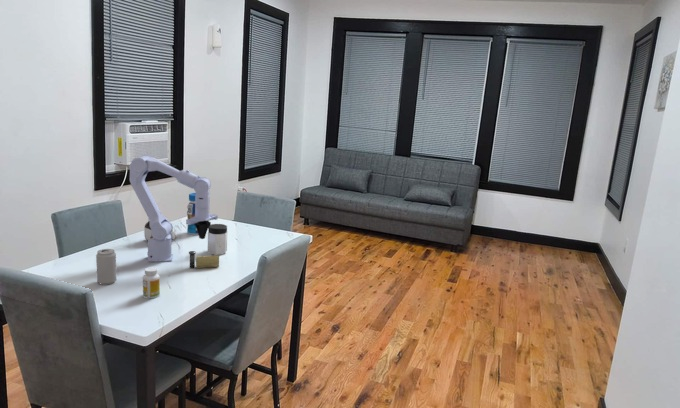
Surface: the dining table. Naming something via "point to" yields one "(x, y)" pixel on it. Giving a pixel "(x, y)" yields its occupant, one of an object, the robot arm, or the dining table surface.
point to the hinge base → (192, 259)
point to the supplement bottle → (151, 283)
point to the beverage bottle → (191, 214)
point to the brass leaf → (207, 261)
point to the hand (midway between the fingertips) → (202, 238)
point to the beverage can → (106, 266)
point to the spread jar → (148, 231)
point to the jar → (217, 239)
